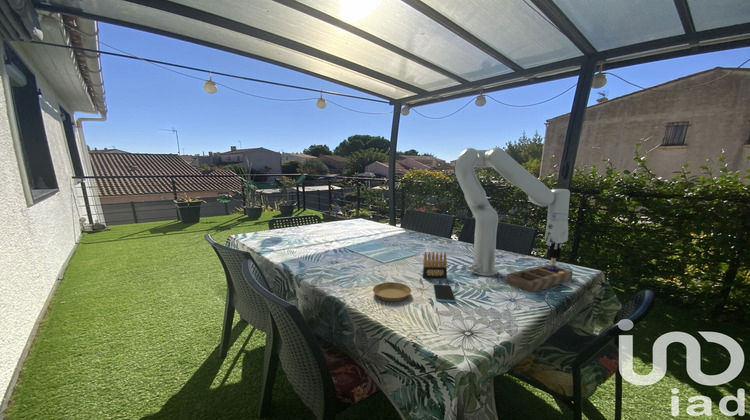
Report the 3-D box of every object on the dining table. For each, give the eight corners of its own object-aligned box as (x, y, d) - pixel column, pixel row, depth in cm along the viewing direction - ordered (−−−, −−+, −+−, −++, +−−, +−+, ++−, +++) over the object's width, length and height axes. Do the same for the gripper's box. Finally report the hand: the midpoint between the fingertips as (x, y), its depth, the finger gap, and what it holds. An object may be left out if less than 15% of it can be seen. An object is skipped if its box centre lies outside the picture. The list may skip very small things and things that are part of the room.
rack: (531, 292, 107) (532, 281, 107) (506, 282, 117) (507, 273, 116) (571, 279, 121) (572, 270, 120) (546, 272, 130) (547, 263, 130)
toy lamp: (552, 267, 126) (555, 232, 124) (562, 270, 121) (564, 234, 119) (544, 268, 124) (547, 233, 122) (554, 272, 120) (556, 235, 118)
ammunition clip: (423, 278, 123) (423, 252, 121) (422, 276, 125) (423, 251, 123) (446, 278, 122) (447, 252, 121) (445, 276, 124) (446, 251, 123)
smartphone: (450, 285, 113) (456, 300, 99) (450, 287, 113) (455, 303, 99) (433, 284, 114) (435, 299, 100) (433, 286, 114) (435, 302, 100)
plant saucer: (367, 291, 109) (367, 285, 108) (399, 285, 114) (399, 279, 114) (382, 307, 95) (382, 300, 95) (418, 300, 101) (418, 293, 101)
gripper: (556, 219, 113) (552, 262, 115) (576, 216, 120) (573, 256, 122) (538, 217, 119) (535, 257, 122) (558, 214, 127) (555, 252, 129)
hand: (554, 256), depth 122 cm, fingers closed on toy lamp
